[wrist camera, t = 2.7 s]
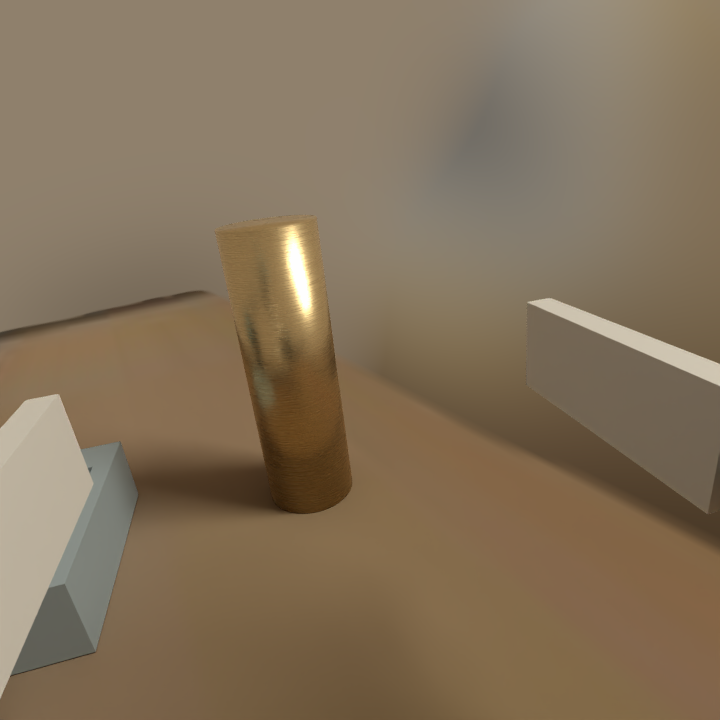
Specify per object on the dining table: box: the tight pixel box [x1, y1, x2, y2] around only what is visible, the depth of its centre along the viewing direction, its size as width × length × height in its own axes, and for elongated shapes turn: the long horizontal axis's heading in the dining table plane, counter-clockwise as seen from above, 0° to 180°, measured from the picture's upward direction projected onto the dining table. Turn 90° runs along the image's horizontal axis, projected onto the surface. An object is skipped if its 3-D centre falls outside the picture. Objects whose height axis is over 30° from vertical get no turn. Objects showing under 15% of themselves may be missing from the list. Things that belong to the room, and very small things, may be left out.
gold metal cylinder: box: [215, 215, 352, 513], centre depth 24 cm, size 4×4×14 cm
